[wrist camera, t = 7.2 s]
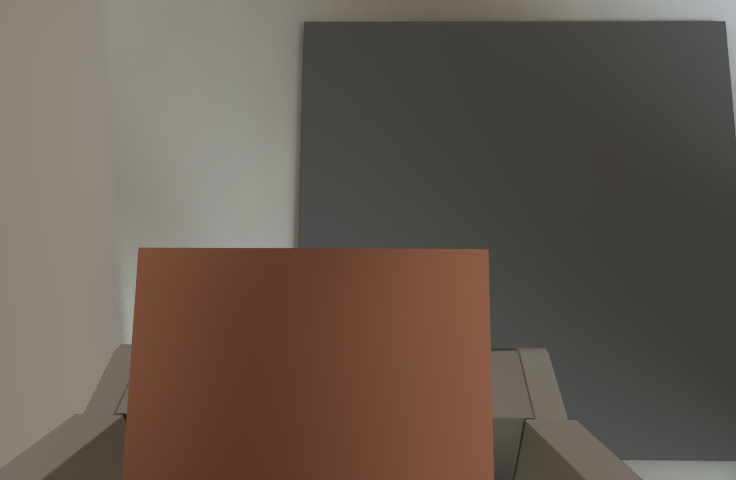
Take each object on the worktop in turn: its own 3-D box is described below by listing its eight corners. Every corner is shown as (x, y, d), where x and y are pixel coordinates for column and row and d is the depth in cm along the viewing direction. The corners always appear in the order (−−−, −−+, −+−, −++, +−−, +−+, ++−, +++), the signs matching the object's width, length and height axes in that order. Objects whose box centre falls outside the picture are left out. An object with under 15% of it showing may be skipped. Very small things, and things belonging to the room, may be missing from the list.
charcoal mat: (721, 25, 34) (725, 21, 34) (759, 459, 31) (764, 460, 30) (304, 25, 34) (304, 22, 34) (295, 455, 31) (293, 456, 31)
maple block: (429, 310, 19) (488, 249, 8) (431, 470, 18) (497, 635, 7) (277, 309, 19) (139, 247, 8) (272, 468, 18) (111, 627, 8)
